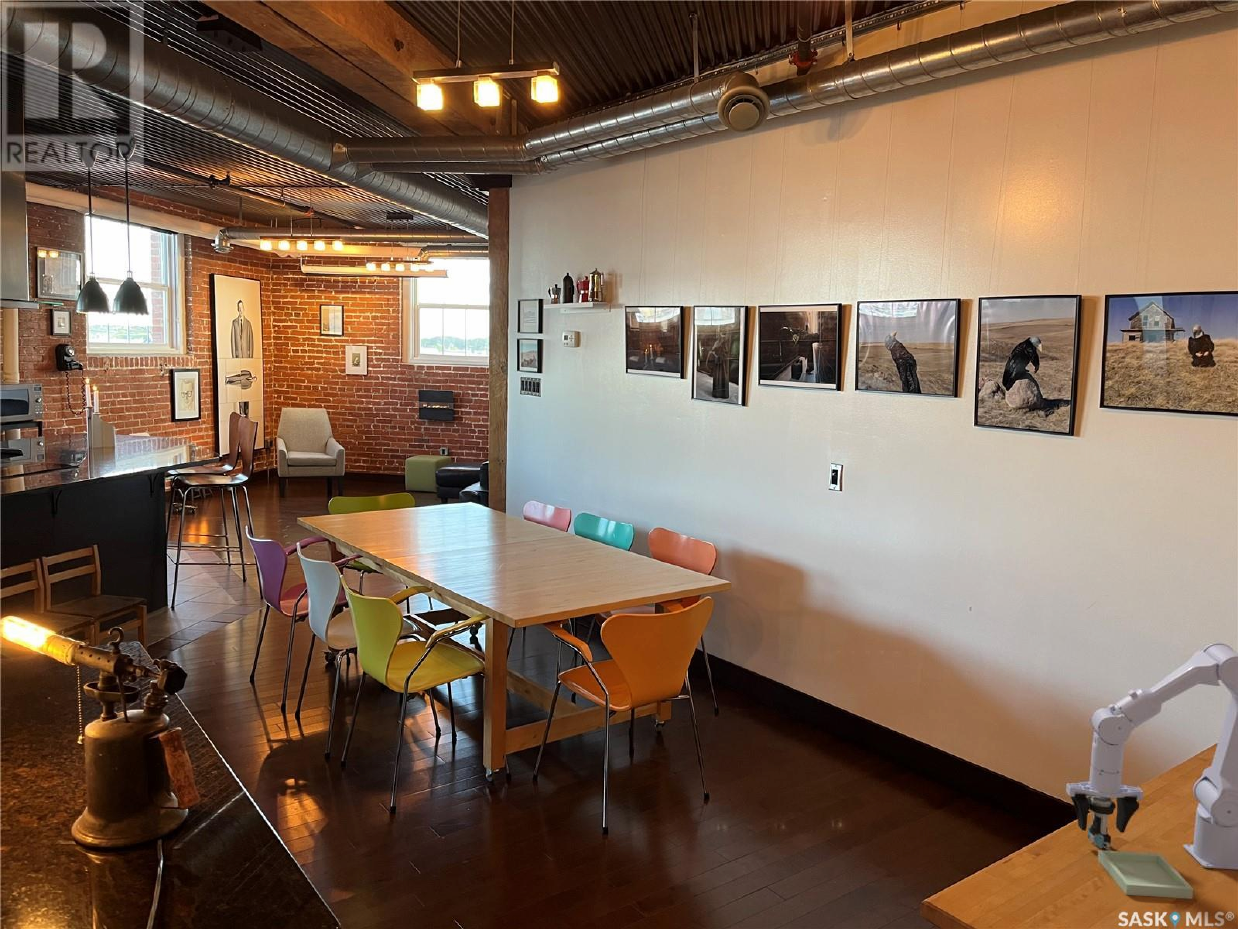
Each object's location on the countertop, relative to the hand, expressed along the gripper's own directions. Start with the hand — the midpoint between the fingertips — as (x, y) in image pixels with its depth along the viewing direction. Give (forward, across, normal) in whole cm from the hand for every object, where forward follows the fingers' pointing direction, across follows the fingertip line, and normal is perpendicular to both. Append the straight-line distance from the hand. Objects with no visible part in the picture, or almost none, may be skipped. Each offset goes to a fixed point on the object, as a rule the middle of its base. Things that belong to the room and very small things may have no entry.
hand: (1101, 829), depth 186 cm
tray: (+3, -3, +12) cm, 13 cm away
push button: (+4, 0, 0) cm, 4 cm away
